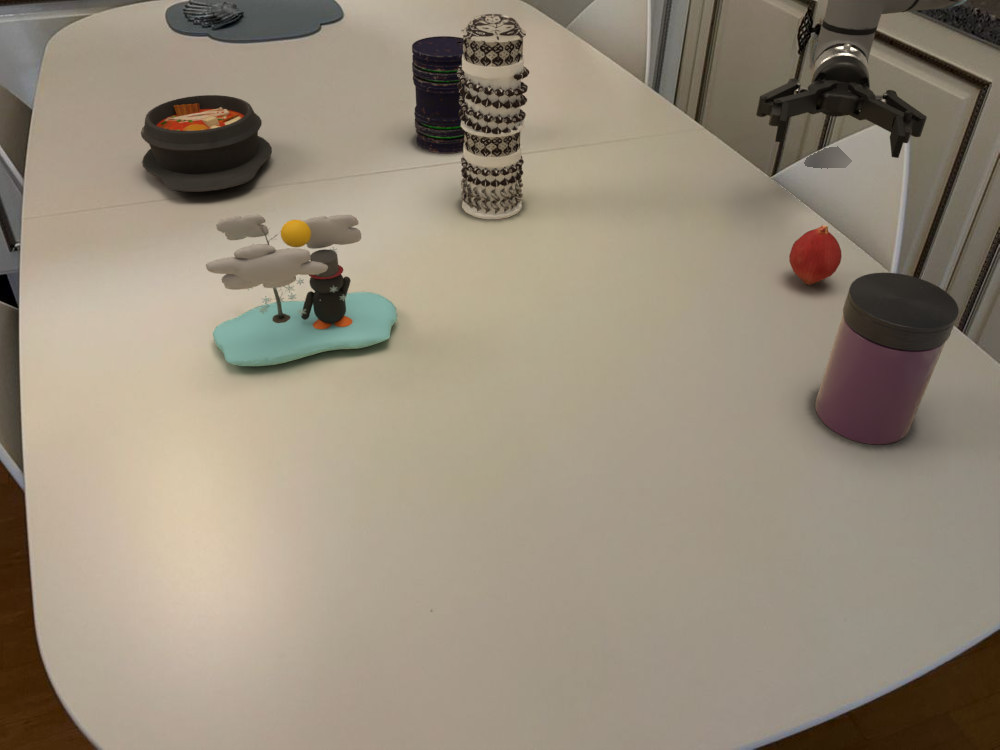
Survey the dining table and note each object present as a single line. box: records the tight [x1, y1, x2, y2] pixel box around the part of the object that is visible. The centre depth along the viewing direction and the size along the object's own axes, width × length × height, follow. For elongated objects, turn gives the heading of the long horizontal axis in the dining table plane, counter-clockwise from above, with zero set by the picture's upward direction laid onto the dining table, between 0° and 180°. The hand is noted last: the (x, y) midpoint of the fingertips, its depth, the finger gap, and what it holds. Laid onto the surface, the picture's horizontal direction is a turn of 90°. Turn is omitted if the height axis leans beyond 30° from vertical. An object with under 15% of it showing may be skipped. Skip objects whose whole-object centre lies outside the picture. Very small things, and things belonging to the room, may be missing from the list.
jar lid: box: [842, 272, 960, 351], centre depth 77 cm, size 9×9×2 cm
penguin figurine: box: [205, 214, 398, 367], centre depth 89 cm, size 20×11×15 cm, turn 106°
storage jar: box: [411, 35, 465, 154], centre depth 133 cm, size 10×10×15 cm
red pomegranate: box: [788, 224, 842, 286], centre depth 102 cm, size 6×6×8 cm
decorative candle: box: [457, 13, 530, 220], centre depth 112 cm, size 9×9×25 cm
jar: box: [814, 314, 946, 445], centre depth 81 cm, size 9×9×13 cm
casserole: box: [140, 94, 273, 193], centre depth 126 cm, size 25×19×8 cm
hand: (838, 139), depth 103 cm, fingers open, 13 cm apart
